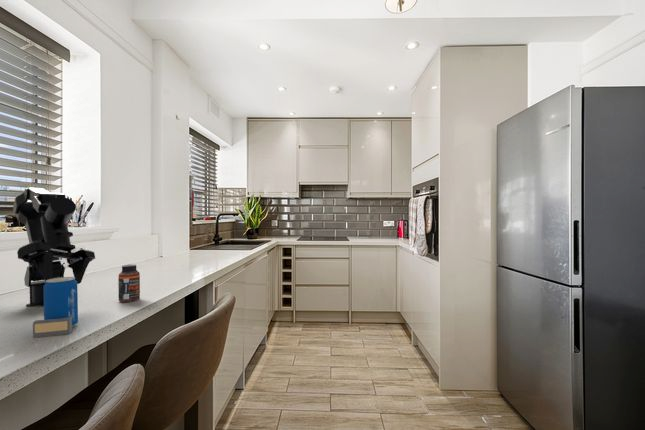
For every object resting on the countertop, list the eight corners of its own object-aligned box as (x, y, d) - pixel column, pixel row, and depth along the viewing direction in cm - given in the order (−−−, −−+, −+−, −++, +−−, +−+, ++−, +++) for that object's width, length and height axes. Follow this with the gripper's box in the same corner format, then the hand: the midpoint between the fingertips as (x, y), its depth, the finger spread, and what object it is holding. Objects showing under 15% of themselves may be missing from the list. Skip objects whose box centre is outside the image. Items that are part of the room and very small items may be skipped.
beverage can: (59, 333, 76) (58, 282, 76) (37, 332, 78) (36, 281, 78) (84, 324, 83) (83, 276, 83) (63, 322, 84) (62, 276, 84)
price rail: (32, 337, 74) (32, 322, 74) (36, 335, 75) (35, 320, 75) (69, 334, 76) (69, 319, 76) (71, 332, 77) (71, 317, 77)
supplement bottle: (130, 303, 102) (129, 267, 102) (113, 302, 103) (113, 266, 103) (144, 298, 108) (143, 264, 107) (128, 297, 109) (128, 263, 109)
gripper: (59, 248, 103) (68, 295, 99) (-5, 237, 85) (1, 293, 81) (91, 233, 103) (101, 280, 98) (33, 219, 85) (41, 275, 80)
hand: (64, 282), depth 89 cm, fingers open, 9 cm apart
